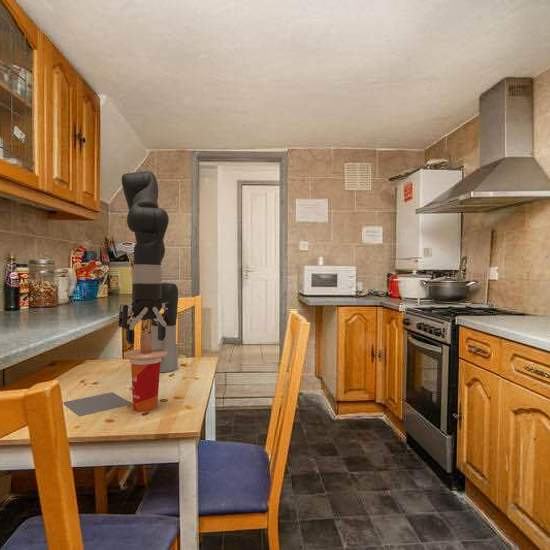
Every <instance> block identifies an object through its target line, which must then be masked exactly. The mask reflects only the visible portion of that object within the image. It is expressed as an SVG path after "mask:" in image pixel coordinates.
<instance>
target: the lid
mask: <svg viewBox="0 0 550 550" xmlns="http://www.w3.org/2000/svg"><path fill="white" fill-rule="evenodd" d="M166 356H167V351H166V350H162V349H152V334H151V332H146V333H140V348H138V349H132V350H128V351H125V352H124V353H123V357H124V359H127V360H152V359H159V358H163V357H166Z"/></svg>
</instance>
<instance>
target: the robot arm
mask: <svg viewBox="0 0 550 550" xmlns="http://www.w3.org/2000/svg"><path fill="white" fill-rule="evenodd" d="M121 187H122V190H123V193H124V197H125V201H126V204H127V207H128V213H127V216H126V217H127V218H126V225H127V227H128V229H129V230H130V231H131V232H133V233H134V237H135V242H136V244H135V245H134V247H133V269H132V277H131V278H132V279H131V280H132V282H131V286H132V287H131V289H132V290H131V301H132V302H131V304H125V303H124V304H120V305H119V310H118V312H119V313H118V327H119V328H122V329H125V340H126V342H127V344H128V345H134V344H135V330H134V328H135V327H136V326H137V324H139V323H140V321H146V320H150V325H151V326H150V329H151V330H150V331H151V332H150V333H151V334H152V349H162V350H166V351H167V356H166V357H163V358H161V359H162V361H161V362H160V373H168V372H173V371H175V370H178V369H179V365H178V363H179V344H178V343H177V318H178V307H179V306H178V305H179V304H178V303H179V289H178V286H177V284H176V283H172V282H171V283H170V282H163V279H162V278H163V275H162V261H163V259H164V257H165V254H166V247H165V242H164V239H165V235H166V232H167V229H168V226H169V218H170V217H169V215H168V212H167V211H166V210H165V209H163V208H160V207H159V205H158V200H159V185H158V180H157V177H156V175H155V174H154V173H153V172H152V171H150V170H143V171H142V170H141V171H134V172H127V173H123V174H122V176H121ZM161 310H162V311H163V313H160V311H161ZM130 311H132V315H130V318H128V317H129V313H130ZM128 319H129V320H128Z"/></svg>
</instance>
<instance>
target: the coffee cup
mask: <svg viewBox="0 0 550 550" xmlns="http://www.w3.org/2000/svg"><path fill="white" fill-rule="evenodd" d="M161 361H162V359H161V358H159V359H152V360H131V359H129V363H130V368H131V390H132V391H131V392H132V394H131V395H132V403H133V404H132V409H133V410H134V411H135V412H142V413H143V412H150V411H154V410H156V409H157V408H158V400H159V388H160V387H159V385H160V374H161V372H160V362H161Z"/></svg>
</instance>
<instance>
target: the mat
mask: <svg viewBox="0 0 550 550" xmlns="http://www.w3.org/2000/svg"><path fill="white" fill-rule="evenodd" d="M63 403H64V404H63V405H64V406H65V407H66V408H67V409H69V410H70V411H72V412H73V413H74V414H76V415H77V416H78V417H82V416H87V415H91V414H92V415H93V414H97V413H101V412H105V411H109V410H113V409H117V408H121V407H126V406H131V405H133V402H131V401H129V400H127V399H126V398H124V397H122V396H120V395H118V394H117V393H114V392H113V391H111V392H107V393H102V394H96V395H91V396H87V397H86V396H85V397H81V398H77V399H72V400H71V399H70V400H66V401H63Z"/></svg>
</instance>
